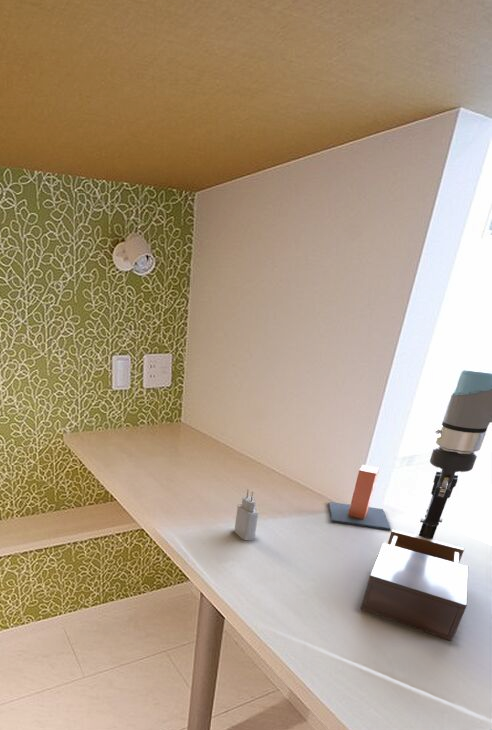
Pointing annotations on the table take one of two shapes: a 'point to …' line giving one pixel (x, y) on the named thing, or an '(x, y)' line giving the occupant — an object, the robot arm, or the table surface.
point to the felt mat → (372, 519)
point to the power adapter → (246, 518)
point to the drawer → (426, 546)
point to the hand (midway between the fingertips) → (422, 547)
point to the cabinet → (417, 590)
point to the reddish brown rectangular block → (363, 491)
